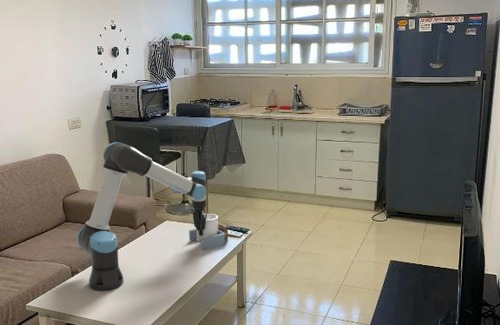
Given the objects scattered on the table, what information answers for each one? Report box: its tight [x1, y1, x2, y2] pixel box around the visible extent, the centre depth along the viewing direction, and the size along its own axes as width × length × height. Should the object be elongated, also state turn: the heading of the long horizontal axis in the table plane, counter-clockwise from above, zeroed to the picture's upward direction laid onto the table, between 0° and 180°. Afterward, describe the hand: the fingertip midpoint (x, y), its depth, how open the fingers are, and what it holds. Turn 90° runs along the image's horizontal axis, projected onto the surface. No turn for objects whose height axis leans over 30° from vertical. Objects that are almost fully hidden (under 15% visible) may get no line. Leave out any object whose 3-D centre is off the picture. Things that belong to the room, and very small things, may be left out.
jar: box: [201, 213, 219, 244], centre depth 272 cm, size 11×10×15 cm
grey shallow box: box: [188, 228, 227, 250], centre depth 272 cm, size 14×16×6 cm
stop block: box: [217, 220, 229, 243], centre depth 277 cm, size 2×11×9 cm, turn 35°
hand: (199, 240), depth 269 cm, fingers closed
